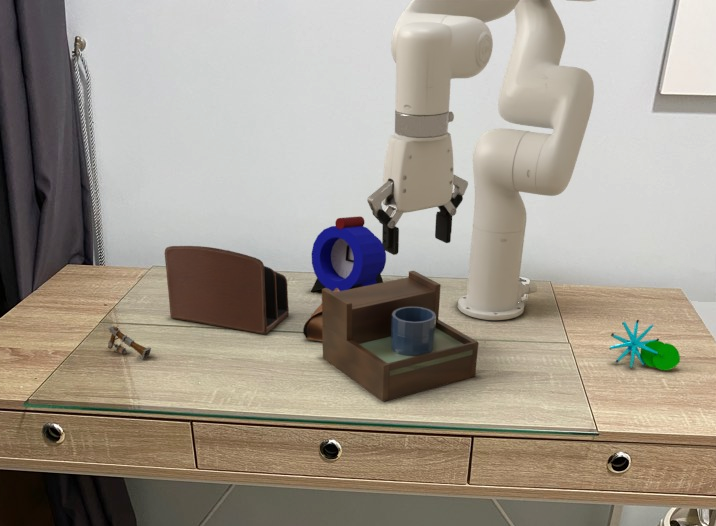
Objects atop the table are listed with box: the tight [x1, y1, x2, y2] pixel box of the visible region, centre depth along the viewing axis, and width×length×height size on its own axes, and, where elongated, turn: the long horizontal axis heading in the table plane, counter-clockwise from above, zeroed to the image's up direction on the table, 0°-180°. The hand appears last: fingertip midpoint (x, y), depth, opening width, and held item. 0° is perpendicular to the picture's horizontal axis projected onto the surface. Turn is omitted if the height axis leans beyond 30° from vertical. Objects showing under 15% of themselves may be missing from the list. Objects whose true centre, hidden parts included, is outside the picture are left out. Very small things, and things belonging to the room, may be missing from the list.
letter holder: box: [164, 245, 290, 336], centre depth 157 cm, size 10×20×14 cm, turn 68°
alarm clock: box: [310, 216, 387, 293], centre depth 169 cm, size 12×12×15 cm
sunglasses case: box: [302, 288, 340, 343], centre depth 158 cm, size 18×7×7 cm
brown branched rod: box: [107, 325, 152, 361], centre depth 147 cm, size 2×8×4 cm, turn 66°
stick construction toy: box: [608, 319, 681, 371], centre depth 146 cm, size 12×7×8 cm
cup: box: [391, 307, 436, 356], centre depth 137 cm, size 7×7×6 cm
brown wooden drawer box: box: [321, 270, 479, 402], centre depth 141 cm, size 19×18×12 cm
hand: (417, 246), depth 132 cm, fingers open, 9 cm apart
